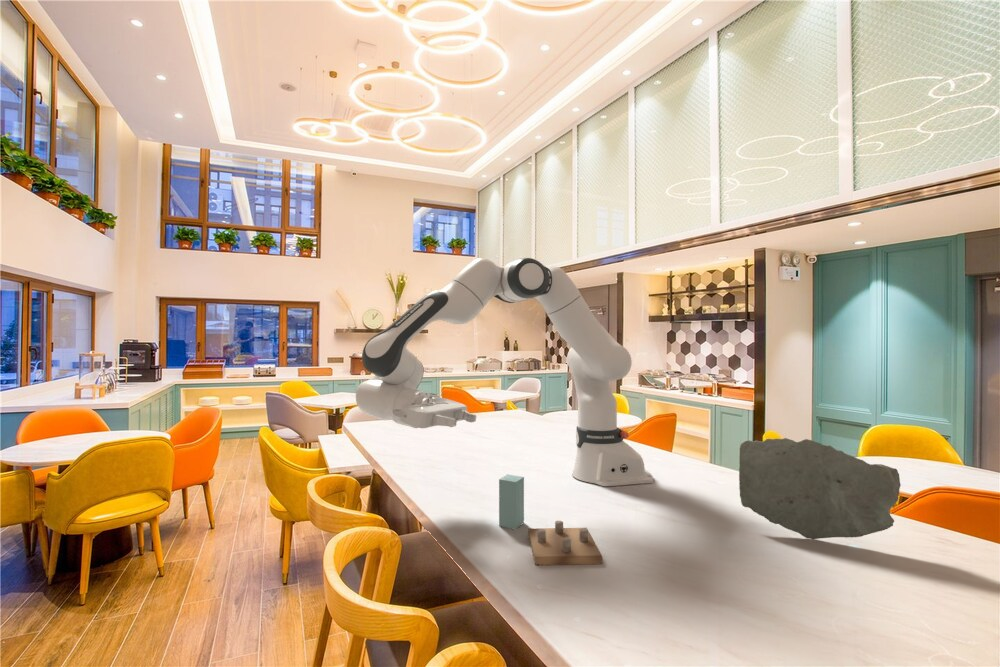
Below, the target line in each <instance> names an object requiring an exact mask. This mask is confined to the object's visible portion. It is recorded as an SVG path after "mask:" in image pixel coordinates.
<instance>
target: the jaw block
mask: <svg viewBox="0 0 1000 667" xmlns="http://www.w3.org/2000/svg"><path fill="white" fill-rule="evenodd" d="M498 490H499V491H498V505H499V506H498V517H499V518H498V524H499V525H498V526H499V527H501V526H502V527H503V528H506V527H507V529H511V528H513V529H512V530H515V529H516V530H517V529H519V528H520V527H521V526H522V525H523V524H524V523H525V477H524V476H520V475H514V474H506V475H505V476H502V477H500V478H499V479H498ZM522 523H523V524H522ZM521 524H522V525H521ZM520 525H521V526H520ZM519 526H520V527H519ZM518 527H519V528H518Z"/></svg>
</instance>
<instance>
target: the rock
mask: <svg viewBox="0 0 1000 667" xmlns="http://www.w3.org/2000/svg"><path fill="white" fill-rule="evenodd" d="M739 446H740V447H739V459H738V460H739V462H738V464H739V465H738V466H739V467H738V471H739V473H738V481H739V485H738V487H739V488H738V489H739V498H740V503H741V505H742V507H744V508H748V509H751V511H752V512H754V513H755V514H757V515H759V516H762V517H763V518H765V520H768V521H769V522H770V523H772V524H774V525H779V526H781V527H782V528H785V529H787V530H789V531H791V532H795V533H797V534H800V535H801V536H802V537H804V538H806V539H809V540H820V539H828V538H829V539H830V538H861V537H864V536H867V535H872V534H875V533H879V532H883V531H886V530H888V529H890V528H891V527H893V526H894V523H895V520H894V518H893V517H892V515H891V509H892V508H893V507H894V506H895V505H896V504H897V503H898V501H899V496H900V489H901V486H902V485H901V484H902V483H901V480H900V473H899V472H898V471H899V470H898V469H897V468H893V467H890V466H888V465H885V464H882V463H880V464H878V463H876V464H875V463H874V464H870V463H868V462H866V461H865V460H863V459H860V458H857V457H856V456H853V455H850V454H848V453H845V452H844V451H843V450H839V449H836V448H834V447H833V446H831V445H827V444H826V445H825V444H822V443H821V442H817V441H814V440H812V439H807V438H804V439H803V440H800V441H795V440H793V439H790V438H787V437H784V438H766V439H764V440H763V441H759V440H757V439H755V440H754V441H753V440H745V441H743V442H742V443H740V445H739Z"/></svg>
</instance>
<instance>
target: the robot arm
mask: <svg viewBox="0 0 1000 667" xmlns="http://www.w3.org/2000/svg"><path fill="white" fill-rule="evenodd" d="M493 298H496V299H498V300H500V301H501V302H504V303H508V304H513V303H521V302H524V301H528V300H529V299H532V298H533V299H535V300H537V301H538V302H539V304H541V305H542V307H543V308H542V309H543V310H544V312H545V314H546V316H548V318H549V320H550V321H551V324H552V325H553V327H554V328H555V330H556V331H557V333H558V335H559V336H560V338H561V339H562V340H564V341H565V342H566V343H567V344H568V345H569V346H570V347H571V348H570V349H569V350H568V352H567V356H566V362H567V366H568V367H569V369H570V372H571V374H572V378H573V383H574V387H575V388H574V389H575V392H576V398H577V400H576V401H577V426H576V431H575V444H576V447H577V448H576V456H575V462H574V467H573V469H572V475H571V476H572V477H573V478H575V479H577V480H579V481H583V482H586V483H591V484H595V485H599V486H602V487H614V486H626V485H639V484H651V483H653V482H654V476H653V474H652V473H651V472H650V471H649V470H647V469H646V468H645V463H644V459H643V457H642V455H641V454H640V453H639V451H637V450H635V449H634V448H632V446H631V445H629V444H628V443H627V442H625V441H624V440H627V439H628V438H629V437H630V433H629V432H627V431H626V430H623V429H620V428H619V427H618V426H617V424H618V420H617V419H618V416H617V415H618V411H617V408H618V406H617V405H618V403H617V402H618V401H617V399H616V396H614V394H613V392H612V389H611V384H610V382H613V381H617V380H621V379H624V378H625V377H626V376H627V375H628V374H629V372H630V371H631V367H632V356H631V354H630V352H629V350H628V349H627V348H625V347H624V346H623V345H621V344H620V343H618V342H617V341H616V340H615V339H614V337H613V336H612V335H611V334H610V333H609V332H608V331H607V330H606V329H605V327H604V326H603V325H602V324H601V323H600V322H599V321H598V319H597V317H595V315H594V314H593V312H592V311H591V309H590V307H589V305H588V304H587V302H586V301H585V299H584V297H583V295H582V294H581V292H580V290H579V289H578V286H576V284H575V283H574V281H573V280H572V279H571V278H570V276H569V275H568V274H567V273H566V272H565V271H564V270H563V268H561V267H558V266H549V267H547V266H545V265H543V263H541V262H540V261H538V260H537V259H534V258H531V257H522V258H518V259H516V260H513V261H511V262H508V263H506V264H505V265H503V266H502V267H501V266H499V265H497V264H496V263H495V262H494V261H492V260H490V259H488V258H486V257H485V258H484V257H479V258H476V259H474V260H473V261H471V262H470V263H469V264H467V265H466V266H465V267H464V268H463V269H461V271H459V272H458V273H457V275H455V276H454V277H453V279H452V280H451V281H450V282H449V283H448V284H447V285H445V286H444V287H443V288H442V289H440V290H434V291H431V292H429V293H428V294H426V295H424V297H423V296H422V298H421V299H420V300H418V301H417V302H416V303H414V304H413V305H412V306H410V308H409V309H407V311H405V312H403V314H401V316H399V317H398V318H397V319H395V321H394V322H392V324H390V325H389V326H387V327H386V328H385V329H383V330H381V331H380V332H378V333H376V334H375V335H374V336H372V337H371V338H370V339H369V340H367V342H366V343H365V345H364V346H363V350H362V353H361V362H362V365H363V368H365V370H366V371H368V372H370V373H371V374H372V375H374V376H372V377H370V378H369V379H368V380H365V381H362V382H361V383H360V384H359V385H358V387H357V389H356V392H355V402H356V405H357V406H358V409H359V410H360V411H361V412H363V413H364V414H366V415H368V416H371V417H372V418H373V417H374V418H376V419H380V420H383V421H392V422H394V423H396V424H398V425H402V426H405V427H409V428H412V429H428V428H433V427H436V426H441V427H442V426H443V427H449V428H454V427H457V423H458V422H460V421H466V422H467V423H474V422H475V423H476V421H477V415H476V414H474V413H470V412H469V411H468V406H467V405H466V404H464V403H461V402H458V401H455V400H453V399H450V398H449V399H448V398H445V397H441V395H440V394H438V393H432V392H427V391H423V390H419V389H418V388H419V386H420V384H421V382H422V380H423V377H424V374H425V373H424V371H425V370H424V366H423V363H422V361H421V360H419V358H417V356H415V354H413V353H412V352H411V351H410V350H409V349H408V348H407V345H408V344H409V343H411V342H410V341H412V340H413V339H414V338H415V337H416V336H417V335H419V334H420V332H422V331H423V330H424V329H425V328H427V327H428V326H429V325H430V324H432V323H435V321H436V322H437V321H443V322H446V323H449V324H452V325H465V324H468V323H470V322H471V321H472V320H474V319H475V318H476V317H477V316H478V315H479V314H480V312H481V311H482V310H483V309H484V308H485V306H486V305H487V304H488V303H489V302H490V300H492V299H493Z"/></svg>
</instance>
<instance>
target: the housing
mask: <svg viewBox="0 0 1000 667" xmlns="http://www.w3.org/2000/svg"><path fill="white" fill-rule="evenodd" d="M554 523H555V524H554V527H551V528H548V527H547V528H546V527H545V528H528V531H527V532H528V533H527V535H528V536H529V537H528V541H529V540H530V541H529V545H530V544H531V545H530V550H531V549H532V550H531V552H532V553H533V554H532V557H534V558H533V562H534V565H535V566H547V565H546V564H549V565H548V566H550V564H552V565H553V566H554V565H556V566H557V565H558V564H560V565H561V564H562V565H594V564H595V565H597V564H600V565H602V564H603V555H602V553H601V551H600V549H599V548H598V545H597V544H596V542H595V540H594V538H593V537H592V535H591V533H590V531H589V529H588V527H564V521H562V520H555V522H554ZM537 564H539V565H537ZM542 564H543V565H542ZM552 565H551V566H552ZM560 565H559V566H560Z"/></svg>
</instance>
